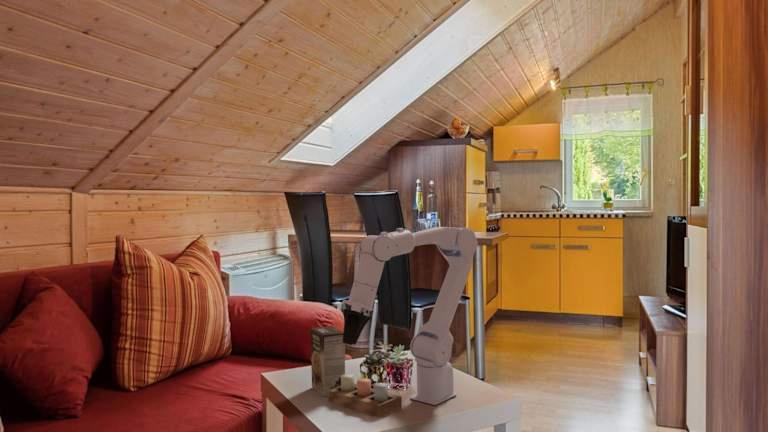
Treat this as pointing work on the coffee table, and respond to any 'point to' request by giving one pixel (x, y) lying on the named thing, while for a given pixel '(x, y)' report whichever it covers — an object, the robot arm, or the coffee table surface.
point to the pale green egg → (347, 383)
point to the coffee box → (327, 358)
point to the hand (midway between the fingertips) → (349, 343)
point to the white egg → (381, 392)
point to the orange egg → (363, 387)
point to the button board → (365, 402)
